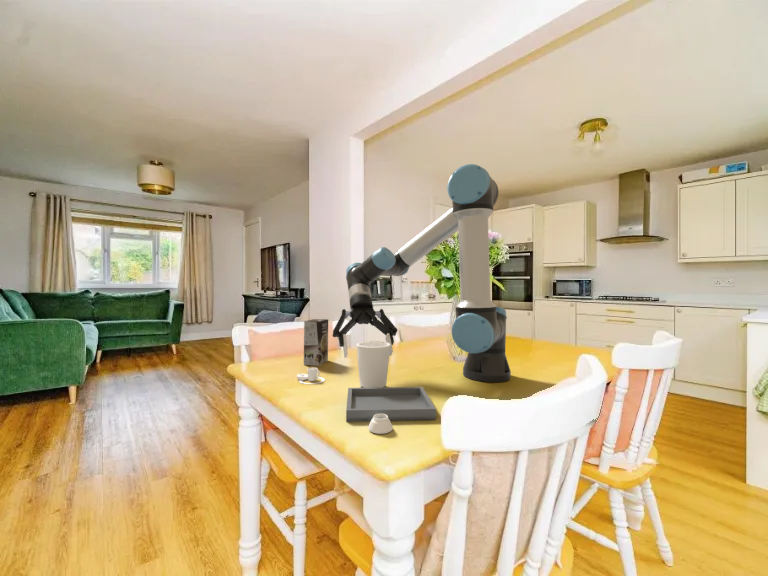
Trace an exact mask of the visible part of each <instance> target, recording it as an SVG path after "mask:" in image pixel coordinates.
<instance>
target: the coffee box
mask: <svg viewBox="0 0 768 576" xmlns="http://www.w3.org/2000/svg"><path fill="white" fill-rule="evenodd" d="M303 324H304V325H303V365H304V366H313V367H314V366H315V367H316V366H317V367H319V366H321V365H323V364H325V363H326V362H328V361H329V319H327V318H325V319H324V318H319V319H317V318H316V319H315V318H313V319H309V320H304V322H303ZM324 362H325V363H324Z"/></svg>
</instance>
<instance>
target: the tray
mask: <svg viewBox="0 0 768 576" xmlns="http://www.w3.org/2000/svg"><path fill="white" fill-rule="evenodd" d="M346 399H347V401H346V408H345V409H346V410H345V412H346V413H345V422H346V423H347V422H350V423H351V422H352V423H353V422H356V423H357V422H371V420H372V419H373V416H374V415H375V414H386V415H387V416H388V419H389V420H390V422H395V421H396V422H399V421H402V422H404V421H407V422H408V421H409V422H410V421H437V408H436V407H435V405H434V404H433V402H432V400H431V398H430V397H429V395H428V393H427V392H426V390H425V389H424V386H402V387H401V386H398V387H397V386H396V387H395V386H394V387H393V386H389V387H388V386H387V387H377V388H362V387H348V388H347V398H346Z"/></svg>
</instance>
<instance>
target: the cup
mask: <svg viewBox="0 0 768 576" xmlns="http://www.w3.org/2000/svg"><path fill="white" fill-rule="evenodd" d="M356 354H357V355H356V357H357V366H358V378H359V386H360V388H377V387H386V386H387V381H388V372H389V362H390V356H389V354H390V344H389V343H387V342H386V341H379V340H378V341H377V340H370V341H368V340H367V341H361V342H358V343H356Z"/></svg>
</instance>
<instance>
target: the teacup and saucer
mask: <svg viewBox="0 0 768 576" xmlns="http://www.w3.org/2000/svg"><path fill="white" fill-rule="evenodd" d="M306 371H307V373H298V374H297V375H296V378H297V379H296V380H298V382H299V383H300V384H304V385H317V384H321V383H322V384H323V383H324V382H325V381H326V379H325V377H322V376H320V375H321V372H320V370H319V369H318V367H316V366H315V367H314V366H313V367H312V366H311V367H307V370H306ZM317 379H320V380H321V381H318V382H317ZM307 380H308V381H309V382H311V383H309V382H304V381H307ZM315 381H316V382H315Z"/></svg>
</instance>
